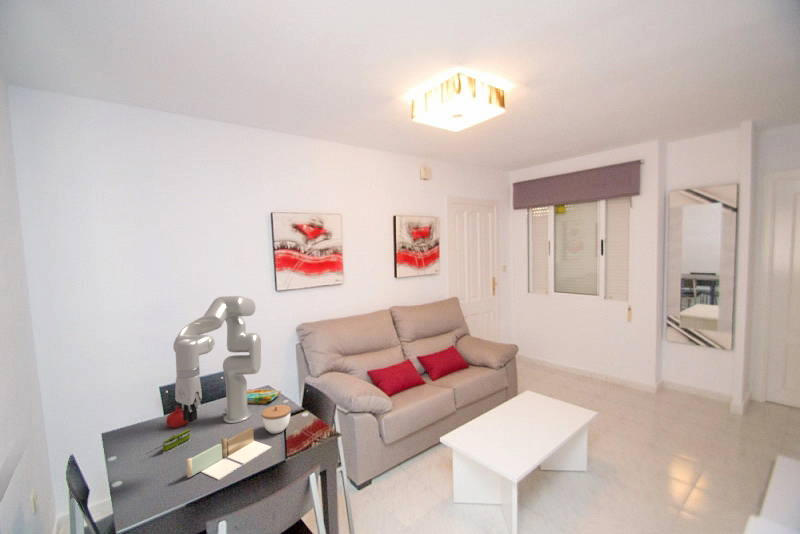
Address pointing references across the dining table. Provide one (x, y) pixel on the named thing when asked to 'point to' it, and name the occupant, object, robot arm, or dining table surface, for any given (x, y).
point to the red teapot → (176, 418)
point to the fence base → (236, 442)
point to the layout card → (235, 460)
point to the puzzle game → (261, 395)
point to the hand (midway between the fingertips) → (190, 419)
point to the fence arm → (204, 460)
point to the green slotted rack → (175, 441)
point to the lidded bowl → (276, 418)
